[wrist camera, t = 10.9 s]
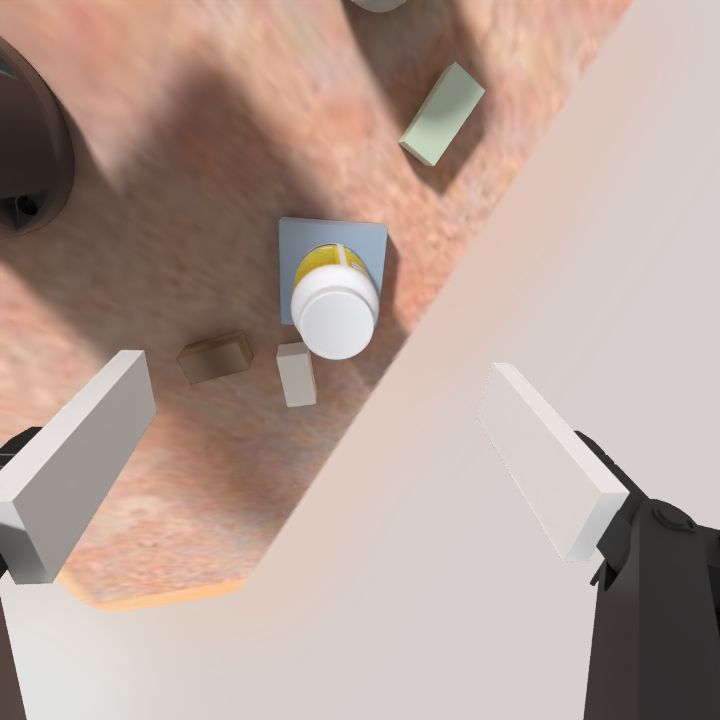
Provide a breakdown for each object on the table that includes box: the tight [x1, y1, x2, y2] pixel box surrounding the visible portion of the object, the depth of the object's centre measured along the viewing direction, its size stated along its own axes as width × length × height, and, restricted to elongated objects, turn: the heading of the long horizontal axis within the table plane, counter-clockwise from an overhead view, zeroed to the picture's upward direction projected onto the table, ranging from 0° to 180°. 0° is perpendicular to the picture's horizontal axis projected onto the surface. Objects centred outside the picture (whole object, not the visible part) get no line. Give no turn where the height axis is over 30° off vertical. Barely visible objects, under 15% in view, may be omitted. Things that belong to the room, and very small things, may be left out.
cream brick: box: [276, 342, 316, 407], centre depth 39 cm, size 6×3×3 cm, turn 5°
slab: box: [279, 217, 388, 328], centre depth 34 cm, size 9×9×3 cm
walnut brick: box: [177, 331, 253, 384], centre depth 37 cm, size 6×3×3 cm, turn 104°
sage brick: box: [398, 61, 485, 166], centre depth 30 cm, size 6×3×3 cm, turn 146°
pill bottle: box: [291, 243, 379, 360], centre depth 28 cm, size 6×6×11 cm
